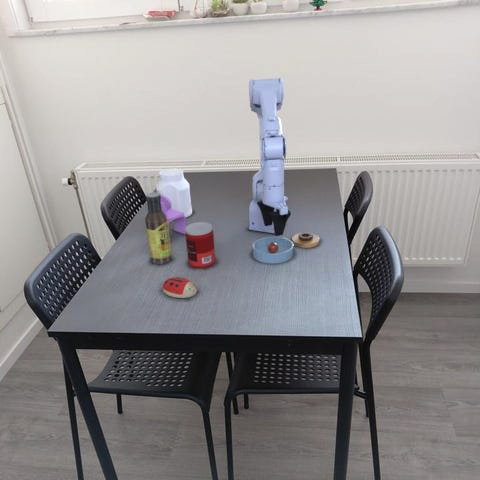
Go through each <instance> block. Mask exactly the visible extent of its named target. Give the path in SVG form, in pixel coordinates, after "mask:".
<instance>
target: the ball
mask: <svg viewBox="0 0 480 480" xmlns="http://www.w3.org/2000/svg"><path fill="white" fill-rule="evenodd" d="M268 251H269V252H270V253H276V252H277V251H278V245H277V244H276V243H274V242H272V243H270V244H269V245H268Z"/></svg>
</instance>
